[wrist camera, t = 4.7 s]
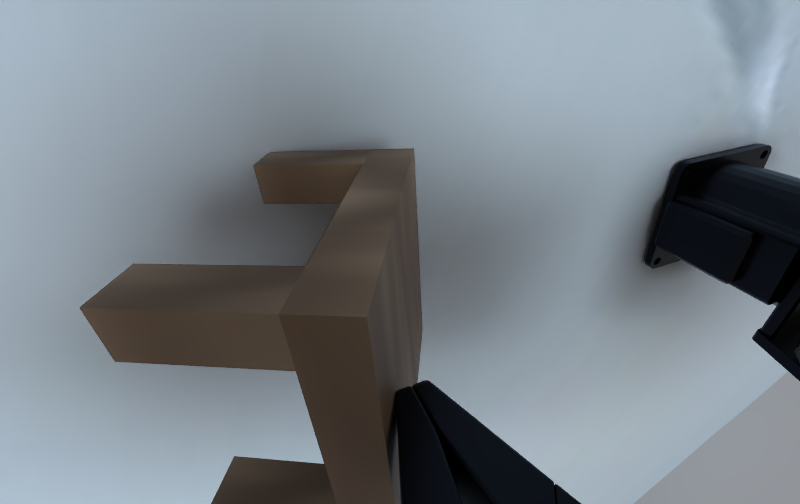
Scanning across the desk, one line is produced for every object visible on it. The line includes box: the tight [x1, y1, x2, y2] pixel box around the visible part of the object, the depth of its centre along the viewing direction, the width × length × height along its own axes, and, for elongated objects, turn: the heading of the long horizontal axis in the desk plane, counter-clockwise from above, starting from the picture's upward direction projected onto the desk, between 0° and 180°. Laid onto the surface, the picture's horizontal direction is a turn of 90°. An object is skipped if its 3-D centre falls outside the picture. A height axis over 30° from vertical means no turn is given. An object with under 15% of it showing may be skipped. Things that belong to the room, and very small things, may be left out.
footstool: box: [80, 148, 422, 504], centre depth 12 cm, size 5×8×8 cm, turn 3°
